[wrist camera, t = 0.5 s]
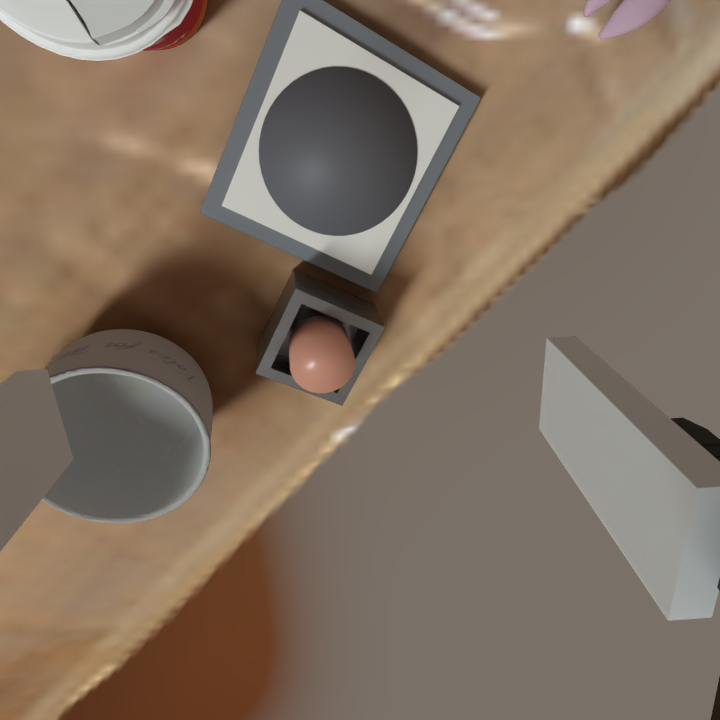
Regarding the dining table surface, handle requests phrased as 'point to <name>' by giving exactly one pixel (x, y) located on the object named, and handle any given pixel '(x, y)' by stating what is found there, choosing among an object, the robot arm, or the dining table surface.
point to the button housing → (316, 300)
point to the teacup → (130, 426)
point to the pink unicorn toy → (626, 15)
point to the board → (336, 143)
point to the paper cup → (103, 25)
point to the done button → (320, 354)
